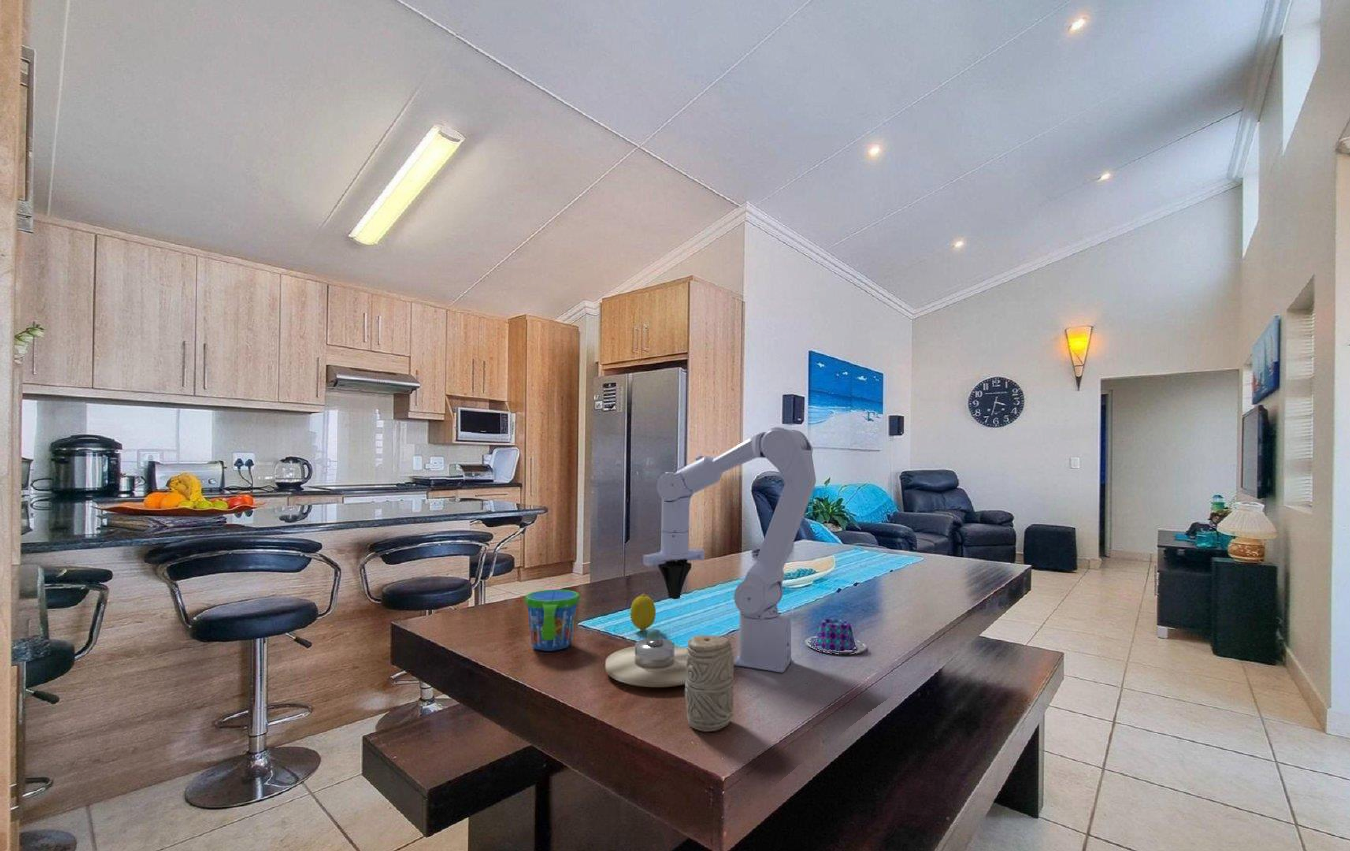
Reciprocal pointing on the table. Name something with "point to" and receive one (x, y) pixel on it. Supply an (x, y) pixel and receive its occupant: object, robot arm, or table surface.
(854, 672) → the table surface
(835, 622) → the polka dot fedora
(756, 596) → the robot arm
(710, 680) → the carving
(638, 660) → the cover
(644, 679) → the turntable
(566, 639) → the snack cup
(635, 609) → the lemon
